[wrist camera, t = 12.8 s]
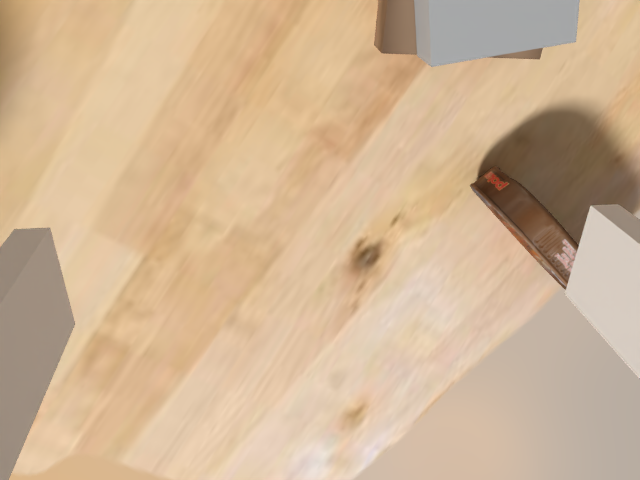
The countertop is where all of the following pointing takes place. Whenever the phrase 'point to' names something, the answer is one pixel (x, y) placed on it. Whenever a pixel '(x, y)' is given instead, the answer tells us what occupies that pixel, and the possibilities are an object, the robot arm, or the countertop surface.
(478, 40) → the tower top
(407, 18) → the tower base
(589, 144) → the countertop surface
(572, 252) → the tin
